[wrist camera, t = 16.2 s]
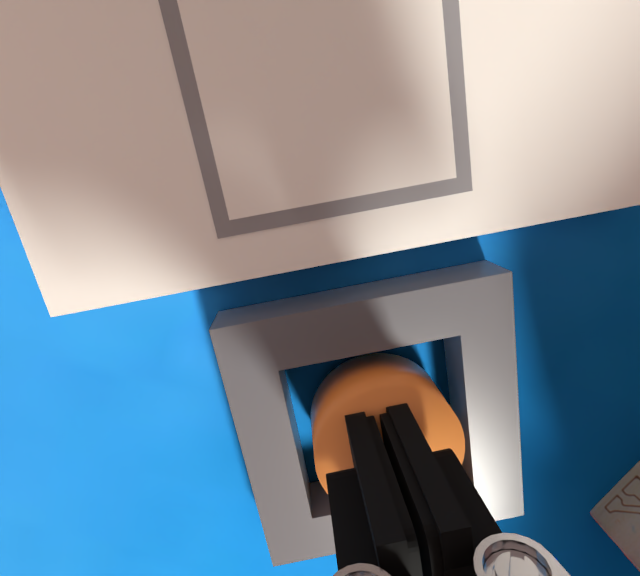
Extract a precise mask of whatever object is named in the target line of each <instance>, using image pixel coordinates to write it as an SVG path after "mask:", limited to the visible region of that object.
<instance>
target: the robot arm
mask: <svg viewBox="0 0 640 576" xmlns="http://www.w3.org/2000/svg"><path fill="white" fill-rule="evenodd" d="M344 416H345V422H346V427H347V433H348V438H349V443H350V449H351V454H352V460H353V465H354V468H351V469H346V470H341V471H336V472H331V473H327V474H326V481H327V489H328V496H329V504H330V512H331V519H332V527H333V535H334V542H335V550H336V558H337V565H338V571H337V572H336V573H335V574H334V575H333V576H570V575H569V573H568V572H567V571H566V570H565V569H564V568H563V567H562V566H561V564H560V563H559V562H558V561H557V560H556V559H555V558H554V557H553V555H552V554H551V553H550V552H549V551H547V550H546V549H545V548H544V547H543V546H542V545H541V544H539V543H537V542H535V541H534V540H532V539H530V538H528V537H525V536H522V535H518V534H514V533H502V532H501V530H500V528H499V527H498V525H497V523H496V522H495V520H494V518H493V517H492V515H491V513H490V512H489V510H488V508H487V507H486V505H485V503H484V501H483V500H482V498H481V496H480V495H479V493H478V491H477V490H476V488H475V486H474V485H473V483H472V481H471V480H470V478H469V476H468V475H467V473H466V471H465V470H464V468H463V466H462V465H461V463H460V461H459V460H458V458H457V456H456V455H455V453H454V452H453V450H452V449H450V448H448V449H443V450H438V451H433V452H432V450H431V448H430V446H429V444H428V442H427V440H426V439H425V437H424V435H423V433H422V431H421V429H420V427H419V425H418V423H417V421H416V419H415V417H414V416H413V414H412V412H411V410H410V408H409V406H408V404H407V403H404V404H399V405H394V406H389V407H386V413H383V414H380V423H381V429H382V435H383V440H382V437H381V434H380V431H379V429H378V426H377V423H376V420H375V417H374V416H368V417H366V414H365V412H359V413H354V414H349V415H344ZM383 442H384V443H383Z"/></svg>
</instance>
